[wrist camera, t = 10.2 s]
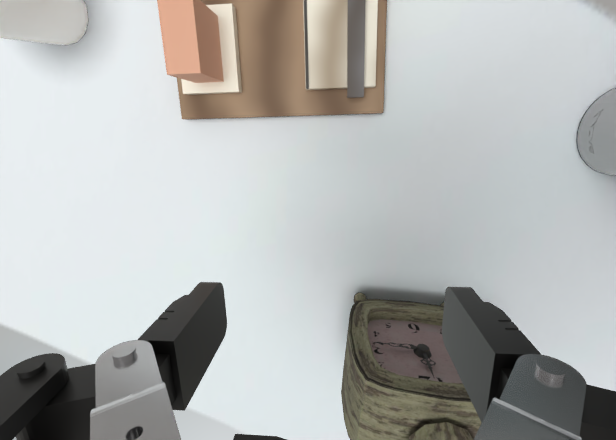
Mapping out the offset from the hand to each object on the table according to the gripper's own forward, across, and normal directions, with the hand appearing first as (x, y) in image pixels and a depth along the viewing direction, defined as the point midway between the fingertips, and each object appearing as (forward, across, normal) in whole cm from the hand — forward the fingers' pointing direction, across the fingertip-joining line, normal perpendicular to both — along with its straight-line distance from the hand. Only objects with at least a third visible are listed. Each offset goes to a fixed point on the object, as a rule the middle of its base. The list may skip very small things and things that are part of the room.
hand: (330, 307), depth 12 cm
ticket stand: (+28, +6, -14) cm, 32 cm away
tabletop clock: (+28, -8, +18) cm, 34 cm away
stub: (+26, +13, -14) cm, 33 cm away
